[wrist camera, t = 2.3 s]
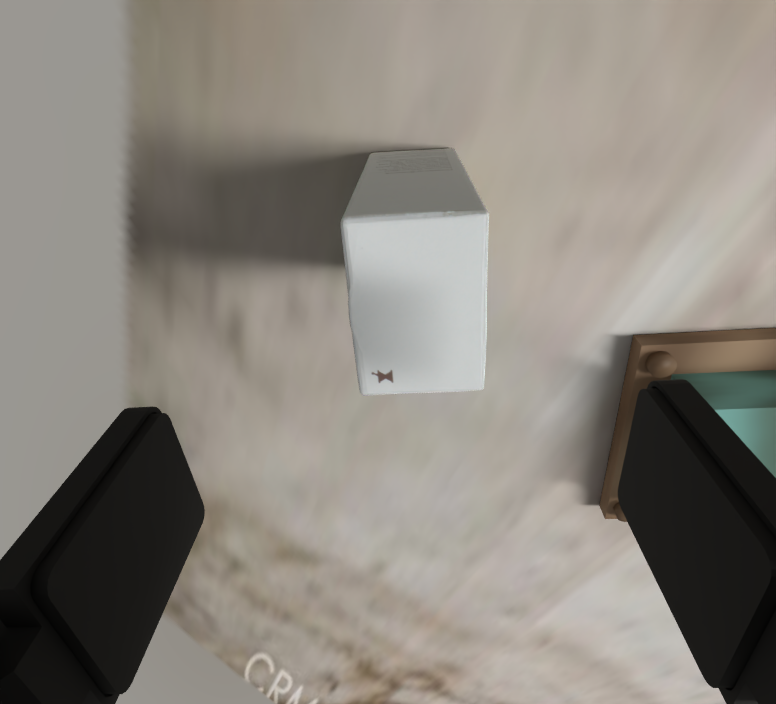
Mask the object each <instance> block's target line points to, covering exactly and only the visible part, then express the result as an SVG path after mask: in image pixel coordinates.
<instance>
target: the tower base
mask: <svg viewBox="0 0 776 704" xmlns="http://www.w3.org/2000/svg"><path fill="white" fill-rule="evenodd" d="M675 379H684V380H687V381H688V382H690V383H691V385H692V386H693V387H694V388H695V389H696V390H697V391H698V392H699V393H700V395H701V396H702V397H703V398H704V399H705V400H706V401H707V402H708V403H709V404H710V406H711V407H712V408H713V409H714V410H715V411H716V412H717V413H718V414H719V416H720V417H721V418H722V419H723V420H724V421H725V422H726V423H727V424H728V426H729V427H730V428H731V429H732V430H733V431H734V432H735V433H736V434H737V436H738V437H739V438H740V439H741V440H742V441H743V442H744V443H745V444H746V446H747V447H748V448H749V449H750V450H751V451H752V452H753V453H754V454H755V456H756V457H757V458H758V459H759V460H760V461H761V462H762V463H763V464H764V466H765V467H766V468H767V469H768V470H769V471H770V472H771V473H772V474H773V476H774V477H775V478H776V328H764V329H744V330H724V331H705V332H685V333H665V334H646V335H633V339H632V344H631V349H630V354H629V359H628V364H627V369H626V374H625V379H624V384H623V389H622V395H621V400H620V405H619V410H618V415H617V420H616V425H615V430H614V435H613V440H612V445H611V450H610V455H609V460H608V465H607V470H606V475H605V480H604V485H603V490H602V495H601V500H600V508H601V510H602V513H603V515H604V517H605V519H618V520H620V521H623V522H627V520H626V518H625V516H624V514H623V512H622V510H621V507H620V504H619V501H618V486H619V481H620V476H621V472H622V467H623V462H624V458H625V453H626V448H627V444H628V439H629V434H630V430H631V425H632V420H633V415H634V411H635V406H636V401H637V397H638V393H639V391H640V390H641V389H647V387H648V385H649V383H650V382H651V381H656V380H675Z"/></svg>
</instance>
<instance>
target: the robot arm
mask: <svg viewBox="0 0 776 704" xmlns="http://www.w3.org/2000/svg"><path fill="white" fill-rule="evenodd" d="M618 501H619V504H620V507H621V510H622V512H623V514H624V516H625V518H626V520H627V522H628V524H629V526H630V528H631V530H632V532H633V534H634V536H635V538H636V540H637V542H638V544H639V546H640V548H641V550H642V553H643V555H644V557H645V559H646V561H647V563H648V565H649V567H650V569H651V571H652V573H653V575H654V577H655V579H656V581H657V583H658V585H659V587H660V589H661V591H662V593H663V595H664V598H665V600H666V602H667V604H668V606H669V608H670V610H671V612H672V614H673V616H674V618H675V620H676V622H677V624H678V626H679V628H680V630H681V632H682V634H683V636H684V638H685V640H686V643H687V645H688V647H689V649H690V651H691V653H692V655H693V657H694V659H695V661H696V663H697V665H698V667H699V669H700V671H701V673H702V675H703V677H704V679H705V680H706V682H707V683H708V684H709V685H710V686H711V687H713V688H719V690H720V692H721V694H722V696H723V698H724V700H725V702H726V704H776V478H775V477H774V476H773V474H772V473H771V472H770V471H769V470H768V469H767V468H766V467H765V466H764V464H763V463H762V462H761V461H760V460H759V459H758V458H757V457H756V456H755V454H754V453H753V452H752V451H751V450H750V449H749V448H748V447H747V446H746V444H745V443H744V442H743V441H742V440H741V439H740V438H739V437H738V436H737V434H736V433H735V432H734V431H733V430H732V429H731V428H730V427H729V426H728V424H727V423H726V422H725V421H724V420H723V419H722V418H721V417H720V416H719V414H718V413H717V412H716V411H715V410H714V409H713V408H712V407H711V406H710V404H709V403H708V402H707V401H706V400H705V399H704V398H703V397H702V396H701V395H700V393H699V392H698V391H697V390H696V389H695V388H694V387H693V386H692V385H691V383H690V382H688V381H687V380H684V379H675V380H656V381H651V382H650V383H649V385H648V387H647V389H641V390H640V391H639V393H638V397H637V401H636V406H635V411H634V415H633V420H632V425H631V430H630V434H629V439H628V444H627V448H626V453H625V458H624V462H623V467H622V472H621V476H620V481H619V486H618ZM203 520H204V505H203V502H202V499H201V497H200V494H199V491H198V489H197V486H196V484H195V481H194V479H193V476H192V474H191V471H190V468H189V466H188V463H187V461H186V458H185V456H184V453H183V451H182V448H181V445H180V443H179V440H178V438H177V435H176V433H175V430H174V427H173V425H172V422H171V420H170V418H169V416H168V415H167V414H165V413H161V411H160V410H159V409H158V408H157V407H138V408H127V409H124V410H123V411H122V412H121V413H120V414H119V416H118V417H117V418H116V419H115V420H114V422H113V423H112V424H111V425H110V427H109V428H108V429H107V430H106V432H105V433H104V434H103V435H102V436H101V438H100V439H99V440H98V441H97V443H96V444H95V445H94V446H93V447H92V449H91V450H90V451H89V452H88V454H87V455H86V456H85V457H84V459H83V460H82V461H81V462H80V463H79V465H78V466H77V467H76V468H75V469H74V471H73V472H72V473H71V474H70V476H69V477H68V478H67V479H66V480H65V482H64V483H63V484H62V485H61V487H60V488H59V489H58V490H57V492H56V493H55V494H54V495H53V496H52V498H51V499H50V500H49V501H48V502H47V504H46V505H45V506H44V507H43V509H42V510H41V511H40V512H39V514H38V515H37V516H36V517H35V518H34V520H33V521H32V522H31V523H30V524H29V526H28V527H27V528H26V529H25V531H24V532H23V533H22V534H21V536H20V537H19V538H18V539H17V540H16V542H15V543H14V544H13V545H12V546H11V548H10V549H9V550H8V551H7V553H6V554H5V555H4V556H3V557H2V559H1V560H0V704H115V703H116V701H117V699H118V696H119V694H123V693H124V692H126V691H127V690H128V688H129V687H130V685H131V683H132V681H133V679H134V677H135V674H136V672H137V670H138V668H139V666H140V663H141V661H142V658H143V657H144V654H145V652H146V650H147V647H148V645H149V643H150V641H151V638H152V636H153V634H154V632H155V629H156V627H157V625H158V623H159V620H160V618H161V616H162V614H163V611H164V609H165V607H166V604H167V602H168V600H169V598H170V595H171V593H172V591H173V589H174V586H175V584H176V582H177V580H178V577H179V575H180V573H181V571H182V568H183V566H184V564H185V561H186V559H187V557H188V555H189V552H190V550H191V548H192V546H193V543H194V541H195V539H196V537H197V534H198V532H199V530H200V528H201V525H202V523H203Z"/></svg>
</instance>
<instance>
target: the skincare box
mask: <svg viewBox="0 0 776 704" xmlns="http://www.w3.org/2000/svg"><path fill="white" fill-rule="evenodd" d="M488 224H489V212H488V210H487V209H486V207H485V205H484V203H483V201H482V199H481V198H480V196H479V194H478V192H477V190H476V188H475V186H474V184H473V182H472V180H471V179H470V177H469V175H468V173H467V171H466V169H465V167H464V165H463V163H462V162H461V160H460V158H459V156H458V154H457V153H456V151H455V149H454V148H445V149H430V150H409V151H392V152H375V153H371V154H370V155H369V157H368V160H367V162H366V164H365V167H364V169H363V171H362V173H361V176H360V178H359V180H358V183H357V185H356V187H355V190H354V192H353V194H352V196H351V199H350V201H349V203H348V206H347V208H346V210H345V213H344V214H343V217H342V219H341V225H340V227H341V236H342V244H343V252H344V261H345V270H346V280H347V289H348V306H349V319H350V326H351V330H352V337H353V345H354V353H355V360H356V368H357V376H358V383H359V390H360V393H361V395H363V396H368V395H386V394H409V393H439V392H463V391H477V390H482V389H483V388H484V375H485V360H486V340H487V268H488Z"/></svg>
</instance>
